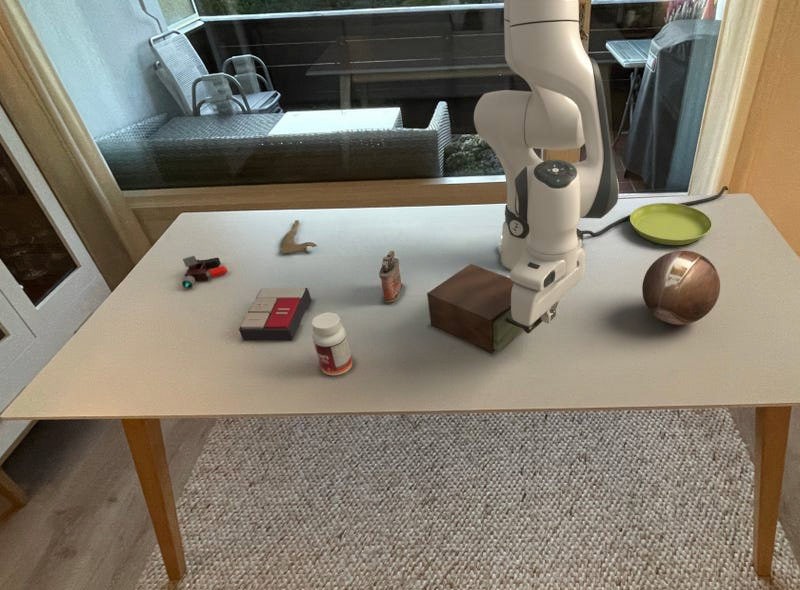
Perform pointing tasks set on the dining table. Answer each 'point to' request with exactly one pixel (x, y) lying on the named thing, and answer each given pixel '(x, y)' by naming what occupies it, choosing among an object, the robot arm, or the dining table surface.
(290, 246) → the jawbone
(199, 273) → the toy gun
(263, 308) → the calculator
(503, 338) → the drawer
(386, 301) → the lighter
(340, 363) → the pill bottle
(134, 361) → the dining table surface
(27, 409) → the dining table surface
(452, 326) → the cabinet
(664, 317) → the wooden sphere
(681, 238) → the saucer
